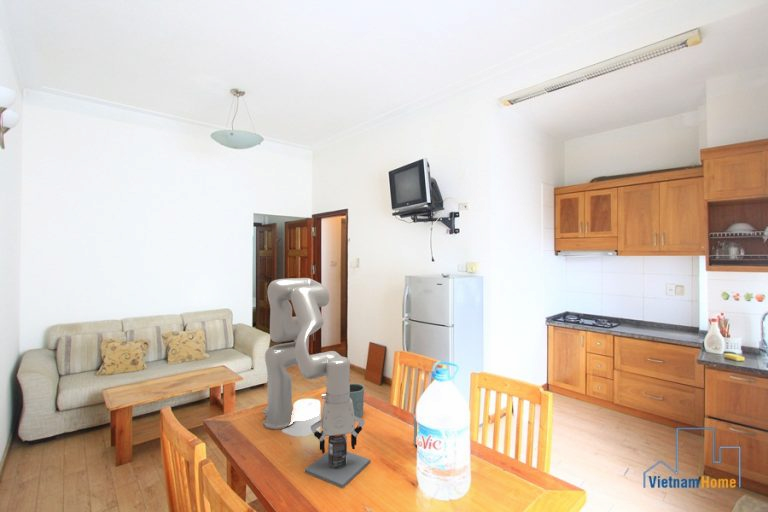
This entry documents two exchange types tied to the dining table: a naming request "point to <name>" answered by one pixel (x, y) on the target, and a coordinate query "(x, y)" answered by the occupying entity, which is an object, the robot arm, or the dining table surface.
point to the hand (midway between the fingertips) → (338, 449)
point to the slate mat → (338, 475)
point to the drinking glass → (357, 398)
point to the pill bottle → (337, 451)
